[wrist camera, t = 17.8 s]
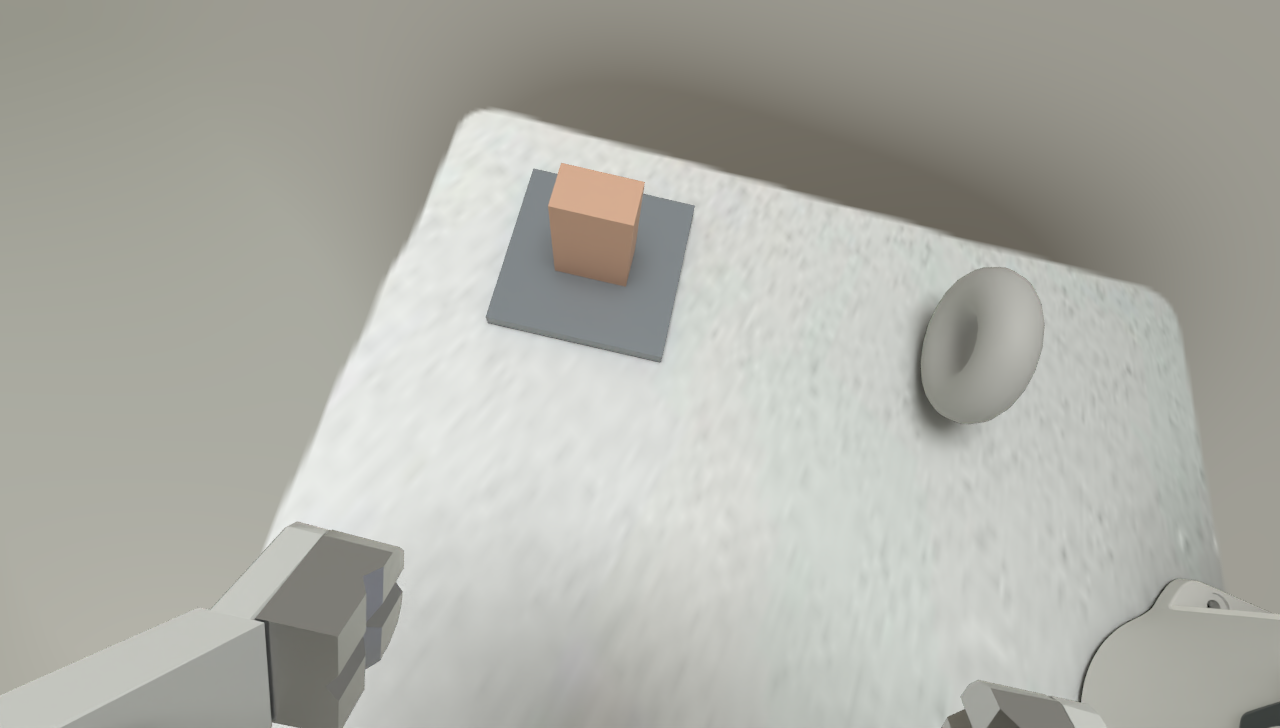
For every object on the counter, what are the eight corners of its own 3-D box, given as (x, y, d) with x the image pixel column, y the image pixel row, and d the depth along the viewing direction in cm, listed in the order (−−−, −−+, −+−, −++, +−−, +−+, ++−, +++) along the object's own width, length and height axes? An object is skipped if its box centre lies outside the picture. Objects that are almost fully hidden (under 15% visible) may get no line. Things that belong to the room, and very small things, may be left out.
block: (635, 249, 45) (644, 182, 37) (625, 286, 44) (633, 225, 36) (565, 233, 45) (561, 162, 37) (554, 270, 44) (548, 206, 36)
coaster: (692, 213, 47) (694, 205, 46) (660, 362, 43) (662, 357, 43) (534, 176, 47) (533, 168, 46) (487, 322, 43) (485, 316, 42)
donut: (958, 444, 43) (1060, 406, 34) (908, 433, 43) (997, 392, 34) (961, 311, 47) (1056, 242, 37) (915, 301, 47) (998, 230, 37)
